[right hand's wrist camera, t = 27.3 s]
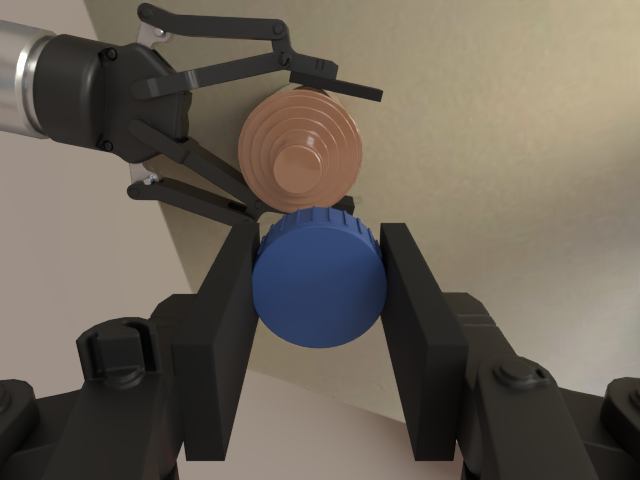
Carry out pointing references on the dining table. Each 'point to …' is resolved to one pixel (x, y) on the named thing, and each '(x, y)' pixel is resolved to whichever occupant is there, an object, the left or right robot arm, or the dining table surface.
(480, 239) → the dining table surface
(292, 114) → the bottle
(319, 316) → the cap
